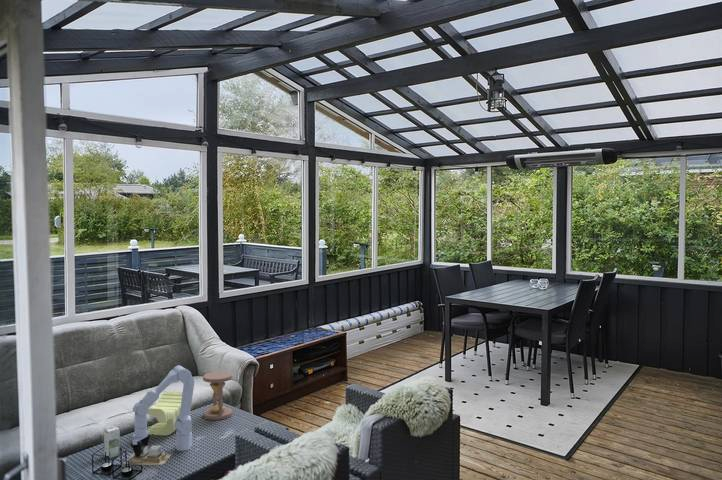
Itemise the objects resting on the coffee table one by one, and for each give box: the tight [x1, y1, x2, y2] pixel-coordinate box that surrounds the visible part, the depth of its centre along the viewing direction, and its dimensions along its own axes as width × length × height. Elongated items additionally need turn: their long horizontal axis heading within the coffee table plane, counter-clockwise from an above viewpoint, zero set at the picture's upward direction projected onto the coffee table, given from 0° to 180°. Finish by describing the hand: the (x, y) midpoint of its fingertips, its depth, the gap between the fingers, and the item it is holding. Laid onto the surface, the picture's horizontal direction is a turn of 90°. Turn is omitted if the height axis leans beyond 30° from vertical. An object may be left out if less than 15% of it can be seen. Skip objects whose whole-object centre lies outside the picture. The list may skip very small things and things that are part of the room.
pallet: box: [122, 451, 173, 466], centre depth 278 cm, size 13×20×3 cm, turn 88°
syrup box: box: [103, 425, 121, 460], centre depth 284 cm, size 6×6×14 cm
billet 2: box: [148, 445, 162, 458], centre depth 278 cm, size 4×4×6 cm
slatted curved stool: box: [147, 390, 183, 436], centre depth 318 cm, size 30×16×18 cm, turn 173°
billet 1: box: [135, 445, 149, 458], centre depth 278 cm, size 4×4×6 cm
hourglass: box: [202, 371, 233, 421], centre depth 343 cm, size 18×18×25 cm
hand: (141, 453), depth 278 cm, fingers open, 7 cm apart
